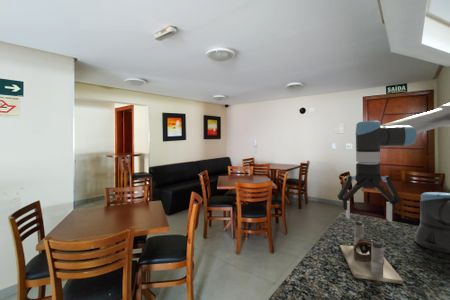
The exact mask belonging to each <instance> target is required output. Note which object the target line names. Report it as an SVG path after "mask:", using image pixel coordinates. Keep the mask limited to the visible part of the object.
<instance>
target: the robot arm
mask: <svg viewBox="0 0 450 300" xmlns="http://www.w3.org/2000/svg"><path fill="white" fill-rule="evenodd" d="M441 127H444V128H450V102H448V103H446V104H445V103H444V104H442V105H439V106H438V107H436V108H435V109H433V110H430V111H427V112H422V113H419V114H415V115H411V116H408V117H404V118H401V119H397V120H394V121H390V122H387V123H384V124H381V122H380V121H379V120H367V121H366V120H365V121H364V120H363V121H359V122H357V123H356V125H355V162H357V163H356V164H355V175H354V176H353V175H349V174H348V175H346V177H345V178H346V179H345V181H344V183H343V186H342V187H341V189H340V191H339V192H338V194H337V199H338V200H339V201H342V209H343V210H345V218H346V219H347V220H350V219H351V214H350V213H351V209H350V207H351V206H350V203H351V202H350V201H349V200H350V199H352V197H353V196H354V195H355V194H356V193H357V192H358V191H359V190H360V189H362V188H363V189H375V188H376V189H377V190H378V192H380V194H381V195H382V196H384V198H386V199H387V200H388V201H386V207H385V210H386V220H387V221H388V222H389V223H392V222H393V213H395V212H396V205H397V203H402V201H403V200H402V199H401V197H400V195H399V194H398V192H397V190H396V189H395V186H394V184H393V183H392V178H391V177H390V176H388V175H384V176H381V164H380V163H381V147H382V148H384V147H406V146H407V147H408V146H411V145H413V144H414V143H415V142H416V140H417V138H418V135H417V134H419V133H423V132H427V131H430V130H434V129H437V128H441ZM354 180H355V181H356V183H354V186H352V187H351V189H349V188H350V186H351V185H352V183H353V182H354ZM381 182H384V183H385V185H386V187H387V188H388V191H389V193H390V194H391V195H392V196H391V195H390V194H389V193H388V191H386V190H385V189H384V188H383V187H382V185H380V183H381ZM348 190H349V191H348ZM347 191H348V192H347ZM419 215H420V216H419V226H418V228H417V229H416V231H415V233H414V242H415V243H417V244H418V245H419V246H421V247H423V248H426V249H429V250H432V251H436V252H439V253H444V254H450V192H440V191H439V192H438V191H435V192H434V191H433V192H432V191H429V192H427V191H426V192H423V193H421V195H420V200H419Z"/></svg>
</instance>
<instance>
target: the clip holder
mask: <svg viewBox="0 0 450 300" xmlns="http://www.w3.org/2000/svg"><path fill="white" fill-rule="evenodd" d="M364 228H365V225H364V222H363V221H360V220H356V221H355V223H354V235H353V236H354V239H353V240H354V242H353V243H354V244H353V245H344V244H343V245H341V244H340V245H339V249H340V251H341V253H342V255H343V257H344V259H345V261H346V263H347V265H348V267H349V269H350V271H351V273H352V275H353V277H354V278H356V279H363V280H372V281H379V282H383V283H384V282H386V283H391V284H394V283H395V284H401V285H404V280H403V278H402V277H401V276H400V275H399V274H398V272H397V271H396V270H395V269H394V267H392V265H391V263H390V262H388V260H387V259H386V258H385V255H384V251H385V250H384V247H383V243H381V242H378V241H373V242H372V244H373V245H371V262H367V261H366V262H361V261H358V260H356V261H355V259H354V245H355V244H356V243H358V240H359V239H363V240H364V237H365V234H364V233H365V231H364ZM364 241H365V240H364ZM356 251H357V252H358V253H359V254H362V253H361V250H360V248H359V246H358V247H357V248H356ZM368 254H369V251H368V252H367V253H366V254H362V255H368ZM383 259H384V264H383Z"/></svg>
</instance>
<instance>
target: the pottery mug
mask: <svg viewBox="0 0 450 300" xmlns="http://www.w3.org/2000/svg"><path fill="white" fill-rule="evenodd" d="M371 245H373V242H370V241H368V240H367V241H366V240H363V239H359V240H358V243H356V244H355V245H354V244H353V246H354V259H355V261H356V260H358V261H361V262H366V261H367V262H371ZM358 246H359V248H360V250H361V253H362V254H366V253H367V252H368V251H369V254H368V255H362V254H359V253H358V252H357V251H356V248H357V247H358ZM383 264H384V259H383Z"/></svg>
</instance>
